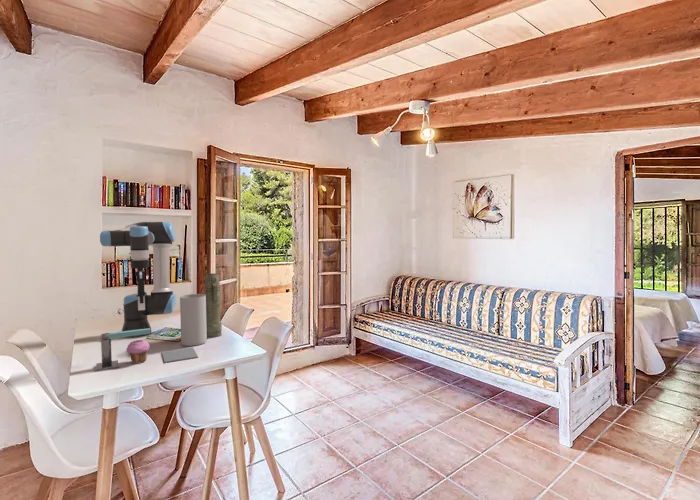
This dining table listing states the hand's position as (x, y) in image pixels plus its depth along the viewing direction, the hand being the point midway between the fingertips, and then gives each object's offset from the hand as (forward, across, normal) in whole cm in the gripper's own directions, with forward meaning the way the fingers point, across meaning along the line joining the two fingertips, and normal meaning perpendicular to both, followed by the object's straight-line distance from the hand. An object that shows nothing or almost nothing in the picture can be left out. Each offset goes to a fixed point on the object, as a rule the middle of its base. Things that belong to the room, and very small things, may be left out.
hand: (141, 308), depth 175 cm
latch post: (+23, +7, -14) cm, 28 cm away
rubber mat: (+23, +7, +15) cm, 28 cm away
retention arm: (+10, +7, -6) cm, 14 cm away
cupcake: (+23, +7, -2) cm, 24 cm away
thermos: (+23, -20, +36) cm, 47 cm away
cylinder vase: (+23, -11, +24) cm, 35 cm away
